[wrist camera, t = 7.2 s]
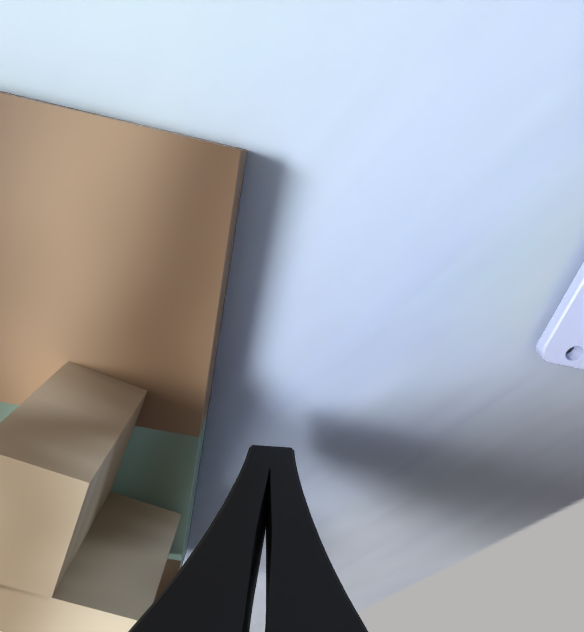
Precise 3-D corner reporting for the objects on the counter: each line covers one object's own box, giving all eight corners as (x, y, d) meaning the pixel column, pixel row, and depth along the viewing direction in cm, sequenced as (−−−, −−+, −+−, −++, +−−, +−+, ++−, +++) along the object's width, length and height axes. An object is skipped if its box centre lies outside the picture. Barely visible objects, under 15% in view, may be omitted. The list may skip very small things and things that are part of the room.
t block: (228, 421, 12) (202, 519, 9) (162, 551, 15) (125, 661, 12) (-27, 325, 11) (-166, 401, 7) (-45, 489, 14) (-151, 594, 10)
